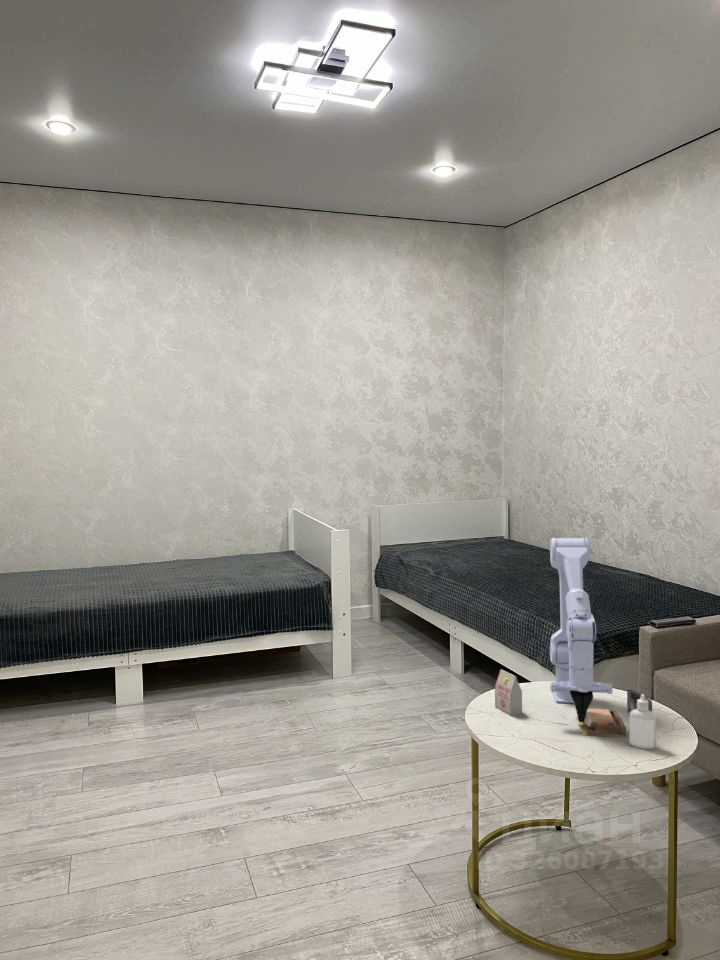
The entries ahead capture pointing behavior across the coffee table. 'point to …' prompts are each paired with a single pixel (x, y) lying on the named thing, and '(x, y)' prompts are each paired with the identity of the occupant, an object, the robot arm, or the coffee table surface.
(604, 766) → the coffee table surface
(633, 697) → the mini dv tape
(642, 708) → the eye dropper bottle
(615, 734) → the tray
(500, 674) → the gable top carton
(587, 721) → the trolley
